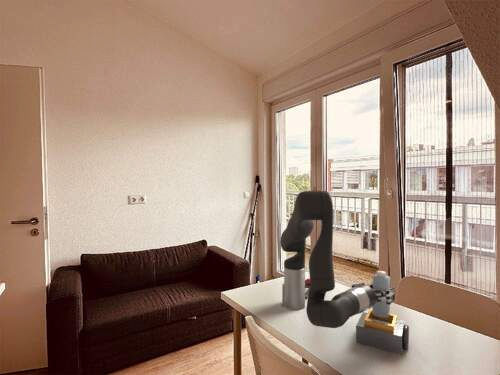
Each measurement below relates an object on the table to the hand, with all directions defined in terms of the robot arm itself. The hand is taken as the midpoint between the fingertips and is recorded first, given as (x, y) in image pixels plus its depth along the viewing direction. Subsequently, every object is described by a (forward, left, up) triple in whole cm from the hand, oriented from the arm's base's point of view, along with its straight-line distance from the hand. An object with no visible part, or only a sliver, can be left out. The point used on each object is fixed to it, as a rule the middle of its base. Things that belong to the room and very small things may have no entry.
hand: (384, 287), depth 104 cm
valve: (-39, +30, -18) cm, 53 cm away
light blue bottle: (-1, -2, -8) cm, 9 cm away
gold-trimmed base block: (-1, -2, -18) cm, 18 cm away
